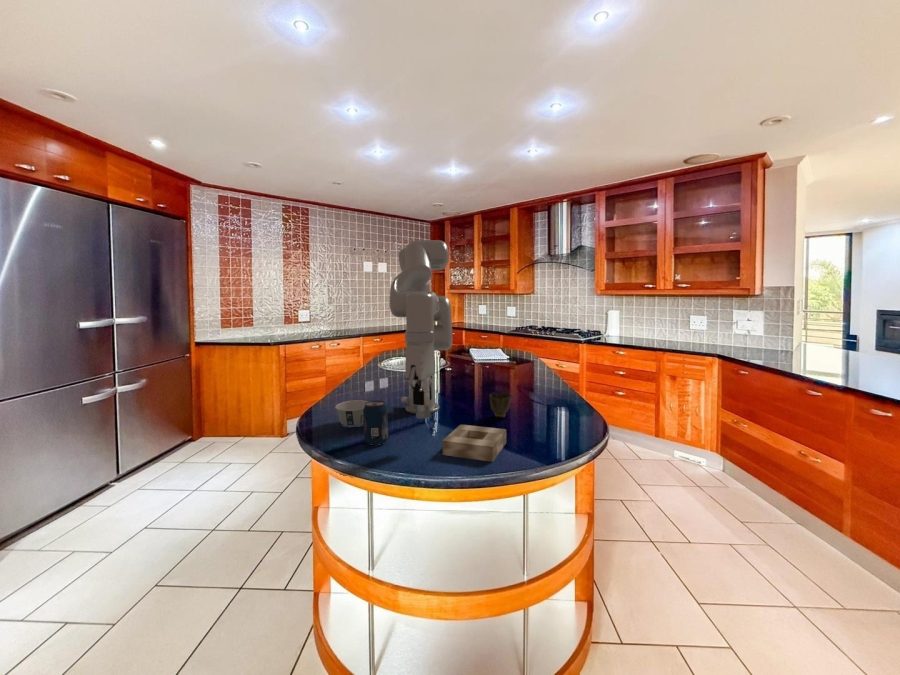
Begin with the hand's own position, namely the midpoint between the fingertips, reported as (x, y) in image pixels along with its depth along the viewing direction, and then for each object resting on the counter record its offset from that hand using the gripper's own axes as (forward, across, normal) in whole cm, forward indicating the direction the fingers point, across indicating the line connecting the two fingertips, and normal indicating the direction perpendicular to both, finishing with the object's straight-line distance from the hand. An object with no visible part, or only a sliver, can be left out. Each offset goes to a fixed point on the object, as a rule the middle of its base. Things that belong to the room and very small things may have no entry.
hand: (422, 401), depth 114 cm
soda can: (+14, +2, -14) cm, 20 cm away
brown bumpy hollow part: (+14, -33, +14) cm, 38 cm away
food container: (+14, -11, -32) cm, 36 cm away
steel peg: (+4, 0, 0) cm, 4 cm away
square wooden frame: (+13, -3, +14) cm, 20 cm away
